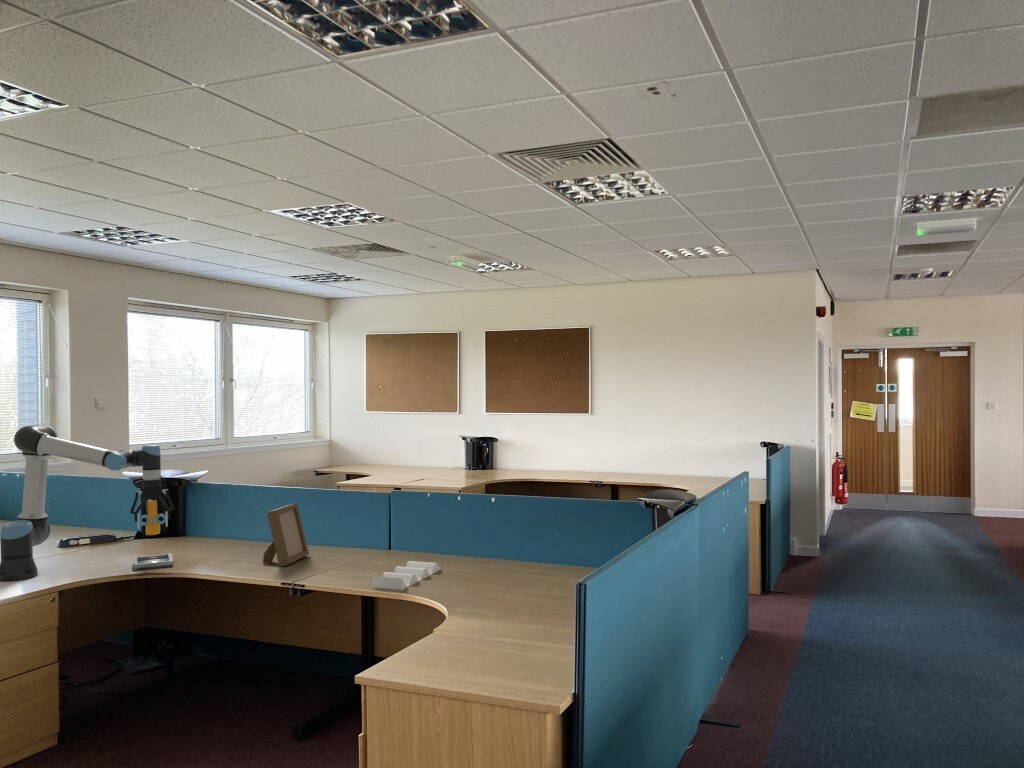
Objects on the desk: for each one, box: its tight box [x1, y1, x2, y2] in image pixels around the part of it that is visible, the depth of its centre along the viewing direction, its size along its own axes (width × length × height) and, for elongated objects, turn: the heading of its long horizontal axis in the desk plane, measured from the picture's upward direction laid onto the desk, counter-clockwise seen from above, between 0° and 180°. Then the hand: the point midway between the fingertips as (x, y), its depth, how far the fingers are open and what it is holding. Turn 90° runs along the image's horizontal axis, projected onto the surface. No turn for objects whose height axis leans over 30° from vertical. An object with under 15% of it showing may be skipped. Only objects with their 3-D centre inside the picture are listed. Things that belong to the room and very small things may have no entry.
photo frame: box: [262, 502, 310, 567], centre depth 359 cm, size 15×22×25 cm
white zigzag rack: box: [371, 560, 441, 591], centre depth 323 cm, size 13×35×5 cm, turn 160°
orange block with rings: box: [139, 499, 166, 536], centre depth 357 cm, size 12×10×15 cm
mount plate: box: [133, 553, 174, 571], centre depth 357 cm, size 16×18×2 cm
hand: (152, 527), depth 357 cm, fingers closed on orange block with rings, 11 cm apart
